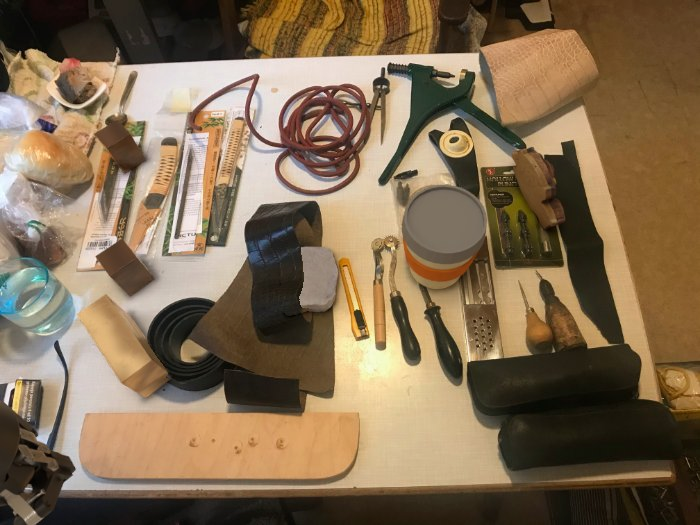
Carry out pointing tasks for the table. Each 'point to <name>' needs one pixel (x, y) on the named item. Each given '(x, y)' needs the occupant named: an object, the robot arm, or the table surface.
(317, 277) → the stone block
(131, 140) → the pillar far
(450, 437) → the table surface
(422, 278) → the reusable coffee cup
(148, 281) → the pillar near
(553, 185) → the wooden carving
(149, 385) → the birch block
